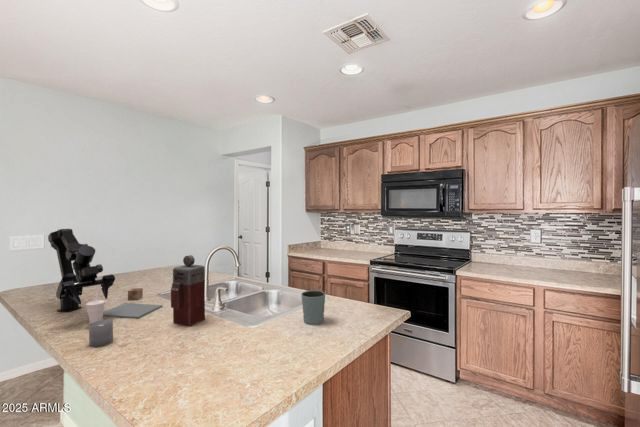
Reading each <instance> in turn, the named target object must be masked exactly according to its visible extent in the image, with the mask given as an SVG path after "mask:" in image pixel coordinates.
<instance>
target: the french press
mask: <svg viewBox="0 0 640 427" xmlns="http://www.w3.org/2000/svg"><path fill="white" fill-rule="evenodd" d="M182 263H183V264H184V265H179V266H176V267H173V269H172V283H171V287H170V308H172V311H173V312H172V313H173V314H172V317H173V318H172V319H173V320H172V322H173V323H172V324H174V325H178V326H184V327H192V326H194V325H196V324H198V323H200V322H203V321H204V320H205V319H206V308H205V307H206V304H205V303H206V300H205V298H206V296H205V295H206V294H205V293H206V292H205V290H206V282H205V281H206V279H205V278H206V276H205V274H206V273H205V272H206V271H205V266H204V265H203V264H202V265H201V264H195V257H194V256H193V255H191V254H189V255H186V256H183V260H182Z"/></svg>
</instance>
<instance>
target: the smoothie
mask: <svg viewBox="0 0 640 427" xmlns="http://www.w3.org/2000/svg"><path fill="white" fill-rule="evenodd" d="M98 295H99V294H98V291H95V300H91V301H88V302H86V303H85V307H86V308H87V314H88V320H89V325H90V324H91V323H93V322H96V321H101V320H103V319H104V318H103V317H104V316H103V312H104V311H105V305H106V300H104V299H98V298H99V296H98Z"/></svg>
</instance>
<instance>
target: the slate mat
mask: <svg viewBox="0 0 640 427" xmlns="http://www.w3.org/2000/svg"><path fill="white" fill-rule="evenodd" d="M161 308H163V304H149V303H135V302H134V303H133V302H124V303H122V304H120V305H116V306H114V307H112V308H110V309H107V310H103V317H108V318H120V319H121V318H123V319H137V320H138V319H140V318H142V317H144V316H145V317H146V316H147V315H149V314H151V313H153V312H155V311H157V310H159V309H161Z"/></svg>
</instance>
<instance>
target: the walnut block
mask: <svg viewBox="0 0 640 427" xmlns="http://www.w3.org/2000/svg"><path fill="white" fill-rule="evenodd" d="M143 290H144V289H143V287H141V288H140V287H138V288H137V287H136V288H135V287H134V288H131V289H129V290H128V291H127V302H129V301H140V300H141V299H142V298H143V294H144V293H143V292H144V291H143Z"/></svg>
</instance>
